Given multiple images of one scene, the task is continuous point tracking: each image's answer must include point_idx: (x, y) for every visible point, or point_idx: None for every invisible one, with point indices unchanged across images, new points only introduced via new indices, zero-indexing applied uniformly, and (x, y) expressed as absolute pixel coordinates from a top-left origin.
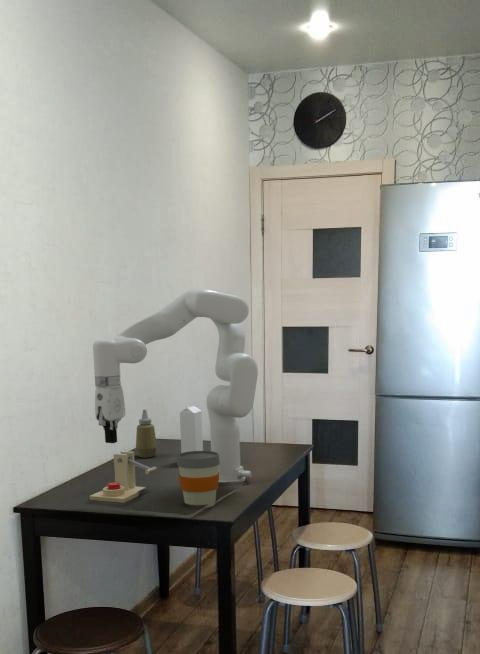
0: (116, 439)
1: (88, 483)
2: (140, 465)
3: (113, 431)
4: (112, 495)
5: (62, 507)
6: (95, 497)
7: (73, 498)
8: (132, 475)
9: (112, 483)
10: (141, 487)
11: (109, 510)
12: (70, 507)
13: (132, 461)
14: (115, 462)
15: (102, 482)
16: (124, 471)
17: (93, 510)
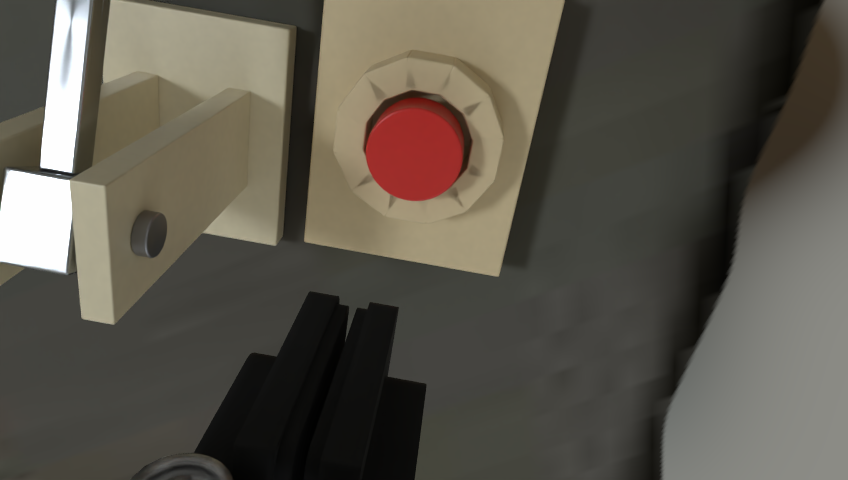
0: (320, 315)
1: (79, 411)
2: (96, 4)
3: (363, 451)
4: (500, 117)
5: (608, 364)
6: (508, 231)
7: (406, 376)
8: (107, 107)
9: (409, 168)
10: (118, 27)
11: (681, 57)
12: (607, 324)
13: (82, 109)
14: (156, 267)
15: (28, 351)
16: (190, 153)
17: (679, 166)
